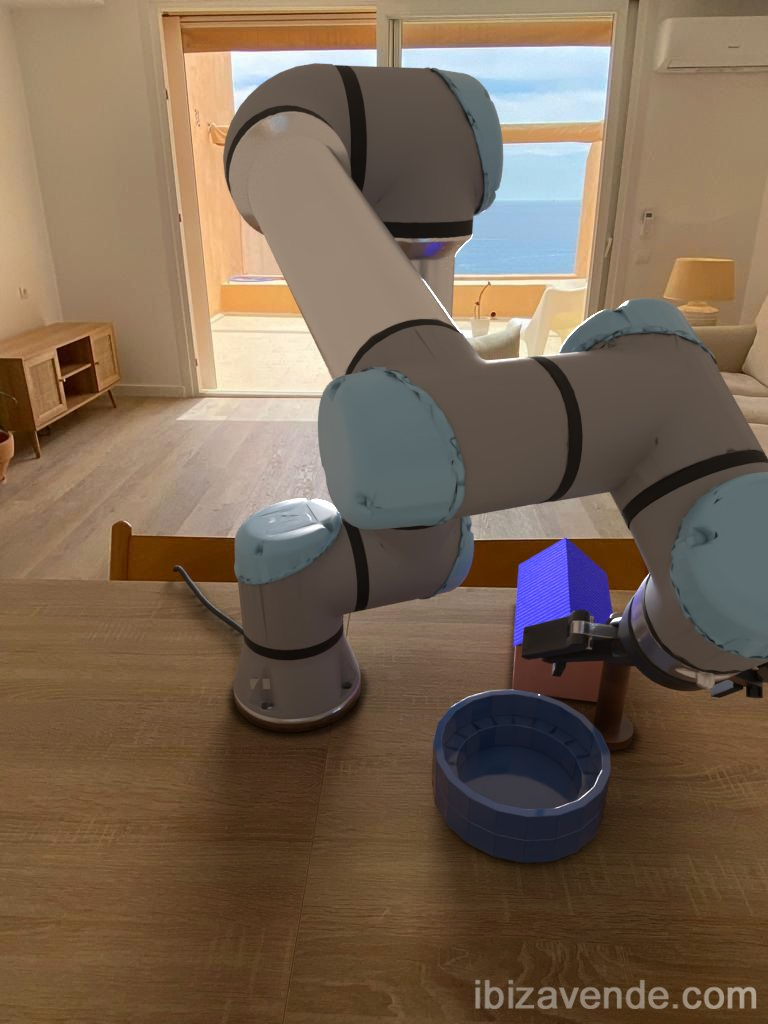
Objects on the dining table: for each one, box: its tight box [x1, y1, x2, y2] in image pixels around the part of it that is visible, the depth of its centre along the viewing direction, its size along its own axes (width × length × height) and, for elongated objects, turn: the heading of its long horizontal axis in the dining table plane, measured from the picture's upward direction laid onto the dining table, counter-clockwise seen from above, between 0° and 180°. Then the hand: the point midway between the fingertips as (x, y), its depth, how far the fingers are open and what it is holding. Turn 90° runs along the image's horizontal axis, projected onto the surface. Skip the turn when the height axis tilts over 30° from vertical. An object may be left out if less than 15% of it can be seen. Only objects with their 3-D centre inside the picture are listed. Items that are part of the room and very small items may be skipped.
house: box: [511, 537, 614, 703], centre depth 89 cm, size 12×20×12 cm, turn 168°
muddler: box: [582, 611, 635, 752], centre depth 74 cm, size 6×6×15 cm
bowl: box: [431, 689, 612, 864], centre depth 68 cm, size 17×17×6 cm
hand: (634, 671), depth 63 cm, fingers open, 13 cm apart
